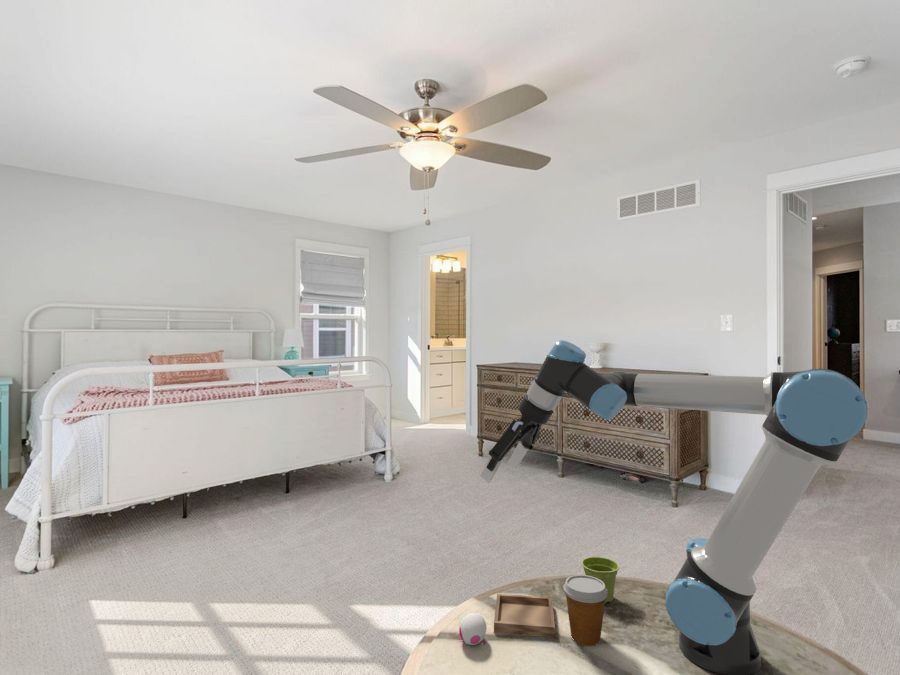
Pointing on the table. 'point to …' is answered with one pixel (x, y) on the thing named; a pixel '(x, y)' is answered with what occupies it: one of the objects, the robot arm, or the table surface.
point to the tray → (524, 615)
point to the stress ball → (472, 629)
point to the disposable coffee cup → (585, 608)
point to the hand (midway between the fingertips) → (498, 472)
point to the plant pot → (602, 572)
